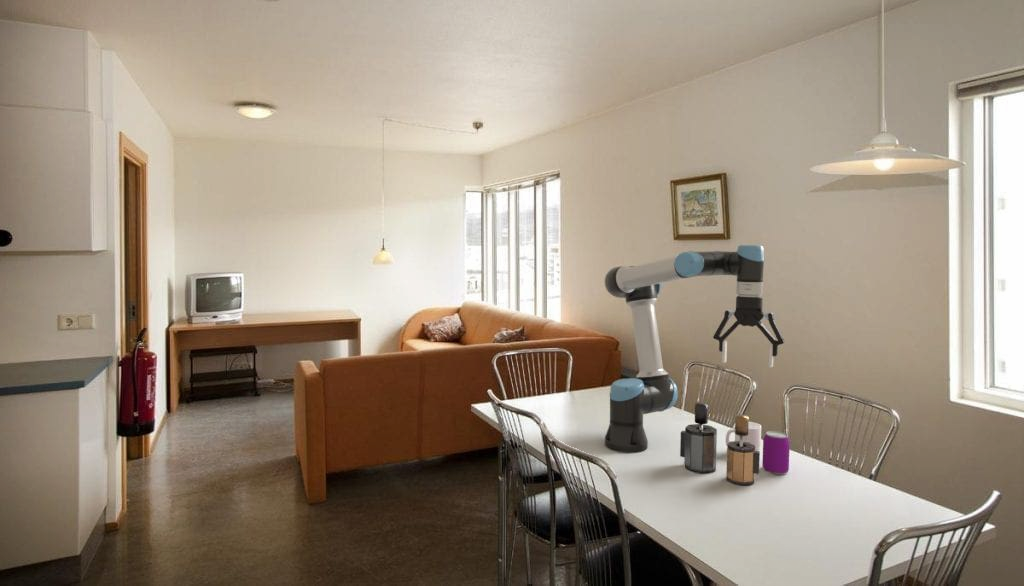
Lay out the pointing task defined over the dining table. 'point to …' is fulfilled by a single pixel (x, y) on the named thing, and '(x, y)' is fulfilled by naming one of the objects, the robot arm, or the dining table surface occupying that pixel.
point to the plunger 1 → (701, 414)
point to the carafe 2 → (742, 463)
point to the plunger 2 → (741, 426)
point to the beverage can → (776, 452)
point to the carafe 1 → (699, 448)
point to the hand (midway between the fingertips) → (747, 364)
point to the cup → (749, 435)
